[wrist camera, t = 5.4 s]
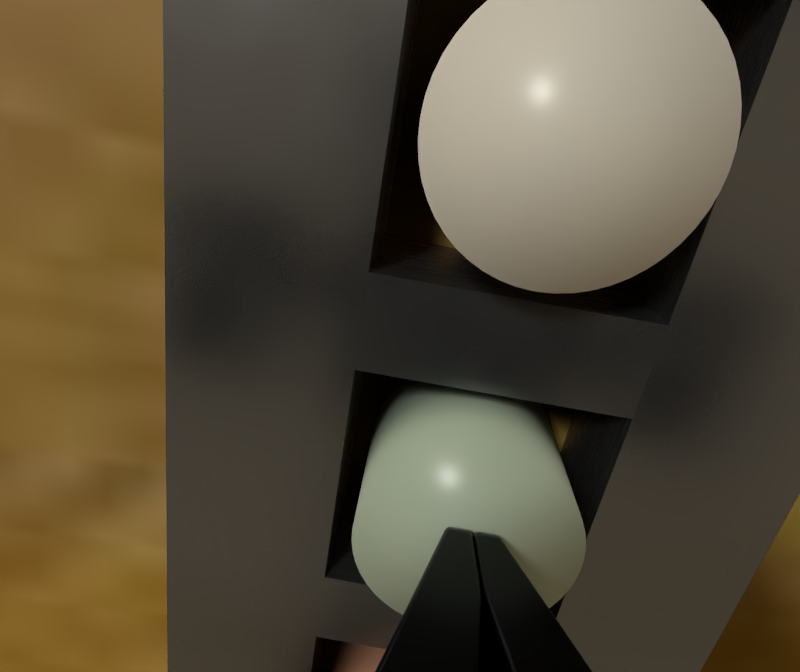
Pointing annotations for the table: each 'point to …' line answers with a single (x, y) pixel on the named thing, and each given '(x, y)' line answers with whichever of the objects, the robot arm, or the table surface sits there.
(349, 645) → the salmon pink rounded lump
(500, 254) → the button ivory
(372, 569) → the egg sage
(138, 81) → the table surface
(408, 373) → the grey holder
